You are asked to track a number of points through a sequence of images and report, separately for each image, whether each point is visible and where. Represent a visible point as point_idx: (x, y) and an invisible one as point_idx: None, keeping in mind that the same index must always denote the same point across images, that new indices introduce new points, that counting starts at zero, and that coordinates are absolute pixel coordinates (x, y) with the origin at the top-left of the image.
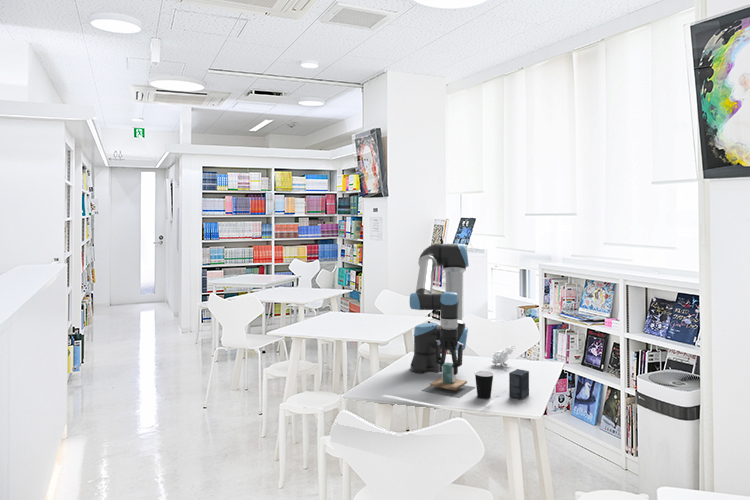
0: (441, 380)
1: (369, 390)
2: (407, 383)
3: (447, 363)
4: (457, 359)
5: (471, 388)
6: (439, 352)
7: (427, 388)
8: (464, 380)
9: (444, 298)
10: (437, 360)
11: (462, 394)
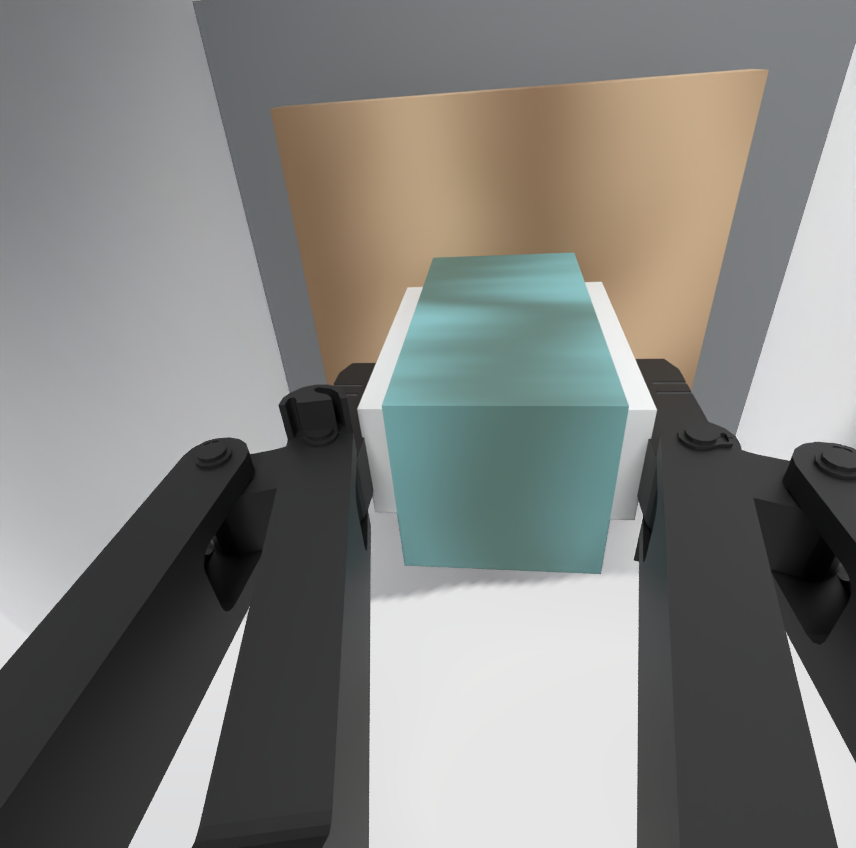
0: (381, 311)
1: (33, 572)
2: (6, 288)
3: (449, 473)
4: (829, 710)
5: (809, 72)
6: (132, 724)
7: None
8: (713, 81)
9: None
10: (240, 576)
11: (726, 392)
